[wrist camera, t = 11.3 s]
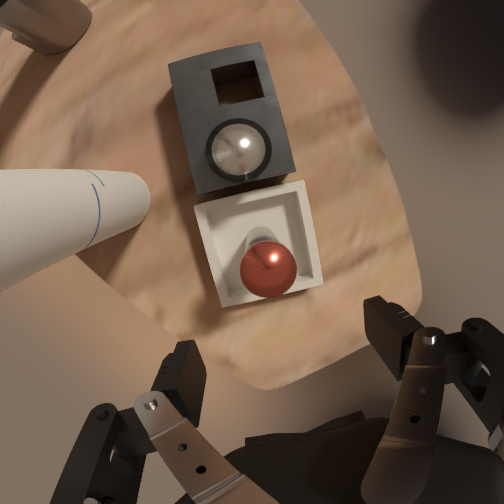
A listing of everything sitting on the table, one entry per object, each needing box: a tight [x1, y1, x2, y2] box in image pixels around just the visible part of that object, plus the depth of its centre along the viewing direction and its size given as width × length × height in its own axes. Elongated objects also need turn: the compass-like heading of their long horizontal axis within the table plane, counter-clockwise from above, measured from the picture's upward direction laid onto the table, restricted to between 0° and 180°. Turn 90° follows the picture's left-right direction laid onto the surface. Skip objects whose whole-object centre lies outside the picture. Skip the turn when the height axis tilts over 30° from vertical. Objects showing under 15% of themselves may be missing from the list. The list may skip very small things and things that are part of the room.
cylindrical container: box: [0, 169, 150, 293], centre depth 19 cm, size 7×7×25 cm
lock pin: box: [240, 226, 297, 298], centre depth 27 cm, size 4×4×11 cm
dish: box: [194, 180, 323, 308], centre depth 32 cm, size 12×12×3 cm
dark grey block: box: [168, 42, 296, 195], centre depth 26 cm, size 10×15×8 cm, turn 13°
